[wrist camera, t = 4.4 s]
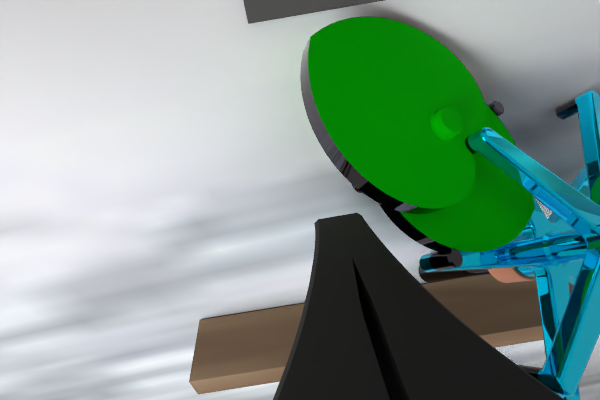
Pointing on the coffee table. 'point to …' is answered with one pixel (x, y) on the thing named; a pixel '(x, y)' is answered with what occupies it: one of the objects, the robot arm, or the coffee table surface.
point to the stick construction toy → (461, 175)
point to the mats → (292, 7)
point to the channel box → (285, 320)
